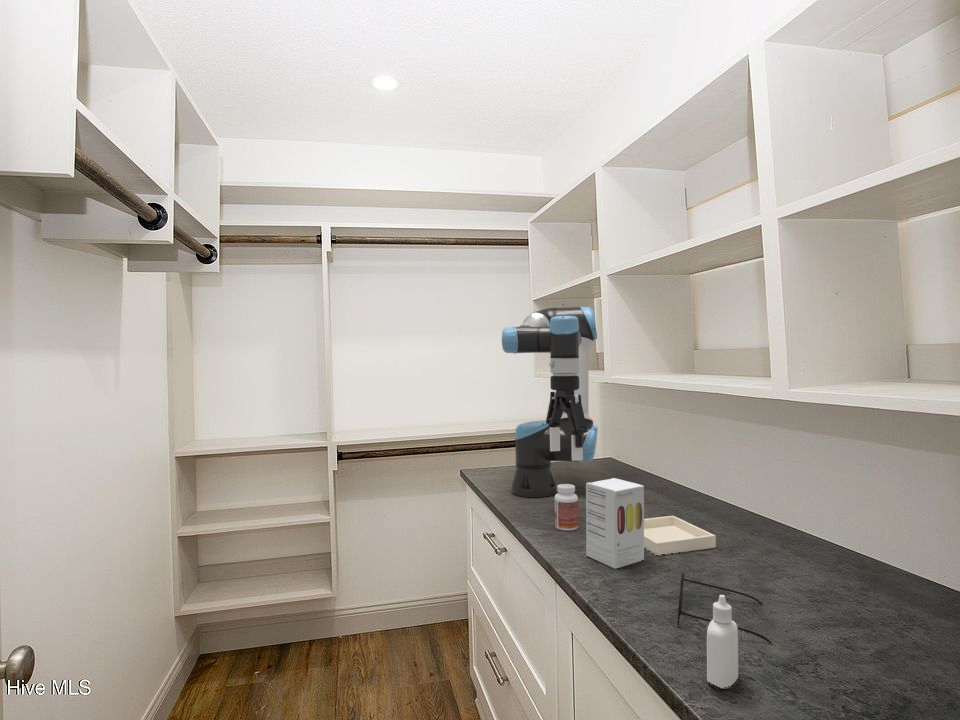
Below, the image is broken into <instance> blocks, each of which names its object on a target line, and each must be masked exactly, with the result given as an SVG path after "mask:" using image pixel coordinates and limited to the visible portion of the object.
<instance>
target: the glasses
mask: <svg viewBox="0 0 960 720" xmlns="http://www.w3.org/2000/svg"><path fill="white" fill-rule="evenodd" d="M685 582H689V583H693V584H697V585H701V586H705V587H708V588H709V587H710V588H714V589H719V590H723V591H726V592H729V593H734V594H737V595H741V596H745V597H747V598H750V599H752V600H754V601H756V602H757V603H759V604H760V605H761V604H764V603H763V602H762V601H760V599H757V598H756V597H754V596H752V595H750V594H746V593H744V592H740V591H737V590H734V589H733V590H732V589H729V588H725V587H722V586H717V585H712V584H710V583H709V584H708V583H703V582H699V581H697V580H696V581H695V580H691V579H687V578H685V573H684V572H682V573H681V578H680V591H679V599H678V610H677V611H678V612H677V625H680V618H681V615H684V616H687V617H690V618H695V619H698V620H701V621H706V622H709V623H710V622H711V621H712V620H713V619H709V618H706V617H702V616H697V615H693V614H690V613H687V612H683V611H682V607H683V600H684V590H683V589H684V583H685ZM737 627H738V631H739V630H740V631H743V632H746V633H749V634H752V635H755V636H757V637H759V638H760V639H763V640H764V641H766V642H767V643H769V644H770V643H773V642H772V641H770V640H769V638H767V637H765V636H764V635H762V634H760V633H757V632H754V631H753V630H750V629H747V628H743V627H739V626H737Z"/></svg>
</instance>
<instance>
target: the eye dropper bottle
mask: <svg viewBox="0 0 960 720" xmlns="http://www.w3.org/2000/svg"><path fill="white" fill-rule="evenodd" d="M732 613H733V608H732V606H731V605H730V604H729V603H728V602H727V599H726V596H725V595H724V594H719V597H718V601H715V602H713V604H712V619H711V620H712V621H711V622H709V624H708V626H707V629H706V681H708V682H710V683H712V684H714V685H716V686H718V687H720V688H724V687H728V686H731V685H732V684H733V683H734V682H735V681H736V680H737V679H739V629H738V627H739V626H738V625H737V623H736V622H735V621H734V620H733V614H732ZM737 681H738V680H737ZM708 682H707V683H708Z"/></svg>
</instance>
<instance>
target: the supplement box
mask: <svg viewBox="0 0 960 720" xmlns="http://www.w3.org/2000/svg"><path fill="white" fill-rule="evenodd" d="M585 492H586V493H585V512H586V513H585V514H586V515H585V517H586V518H585V520H586V521H585V522H586V523H585V531H586V532H585V533H586V534H585V536H586V537H585V539H586V541H585V542H586V543H585V544H586V545H585V548H586V550H585V552H586V554H585V555H586V557H589V558H590V559H593V560H595V561H597V562H599V563H601V564H604V565H606V566H608V567H610V568H612V569H615V570H616V569H618V568H619V569H620V568H623V567H626V566H629V565H632V564H636V563H639V562H642V560H643V561H644V560H645V548H644V519H645V495H644V494H645V486H644V485H642V484H639V483H636V482H632V481H627V480H623V479H620V478H615V477H612V478H609V479H608V478H607V479H603V480H597V481H592V482H586V483H585Z"/></svg>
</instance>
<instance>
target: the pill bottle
mask: <svg viewBox="0 0 960 720" xmlns="http://www.w3.org/2000/svg"><path fill="white" fill-rule="evenodd" d="M556 488H557V492H556V493H555V494H554V495H555V496H554V498H553V499H554V500H553V501H554V526H555V528H556V529H557V530H560V531H565V532H566V531H568V532H570V531H571V532H573V531H575V530H577V529H578V528H579V497H578V495H577V494H576V493H575V492H576V486H575V485H574V484H572V483H559V484H558V485H556Z"/></svg>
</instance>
